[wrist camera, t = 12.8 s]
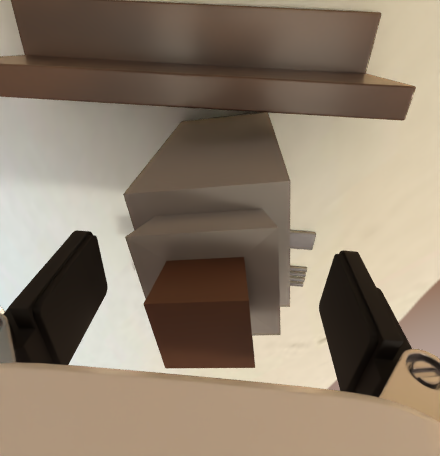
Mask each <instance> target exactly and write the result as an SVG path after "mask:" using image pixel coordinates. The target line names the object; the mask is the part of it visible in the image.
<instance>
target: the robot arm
mask: <svg viewBox="0 0 440 456" xmlns="http://www.w3.org/2000/svg"><path fill="white" fill-rule="evenodd" d="M106 293H107V282H106V277H105V272H104V268H103V263H102V259H101V254H100V250H99V245H98V240H97V237H96V236H93V234H92V233H91V232H89V231H74V232H73V233H72V234H71V235H70V237H69V238H68V239H67V240H66V241H65V242H64V244H63V245H62V246H61V247H60V248H59V249H58V251H57V252H56V253H55V254H54V255H53V256H52V257H51V259H50V260H49V261H48V262H47V263H46V264H45V266H44V267H43V268H42V269H41V270H40V271H39V272H38V274H37V275H36V276H35V277H34V278H33V279H32V281H31V282H30V283H29V284H28V285H27V286H26V287H25V289H24V290H23V291H22V292H21V293H20V294H19V296H18V297H17V298H16V299H15V300H14V301H13V303H12V304H11V305H10V306H9V307H8V309H7V310H6V311H5V313H4V314H1V313H0V456H440V359H439V358H438V357H436V356H435V355H433V354H430V353H429V352H426V351H423V350H419V349H412V348H411V346H410V344H409V342H408V340H407V338H406V336H405V335H404V333H403V331H402V329H401V327H400V325H399V323H398V321H397V319H396V317H395V316H394V314H393V312H392V310H391V308H390V306H389V304H388V302H387V300H386V298H385V297H384V295H383V293H382V291H381V290H380V289H379V288H376V286H375V284H374V282H373V280H372V278H371V277H370V275H369V273H368V271H367V269H366V267H365V265H364V263H363V261H362V259H361V257H360V255H359V253H358V252H353V251H341V252H340V253H339V254H335V256H334V259H333V262H332V265H331V268H330V272H329V275H328V278H327V281H326V284H325V287H324V291H323V294H322V297H321V300H320V304H319V311H320V316H321V319H322V323H323V327H324V331H325V334H326V338H327V342H328V346H329V349H330V353H331V357H332V361H333V365H334V368H335V372H336V376H337V380H338V383H339V387H340V391H337V390H328V389H320V388H311V387H302V386H292V385H282V384H272V383H262V382H251V381H241V380H231V379H220V378H210V377H199V376H188V375H177V374H166V373H155V372H144V371H133V370H121V369H110V368H98V367H87V366H74V365H68V364H69V362H70V360H71V359H72V357H73V355H74V353H75V351H76V349H77V347H78V346H79V344H80V342H81V340H82V338H83V336H84V334H85V332H86V331H87V329H88V327H89V325H90V323H91V321H92V319H93V317H94V316H95V314H96V312H97V310H98V308H99V306H100V304H101V303H102V301H103V299H104V297H105V295H106Z"/></svg>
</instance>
